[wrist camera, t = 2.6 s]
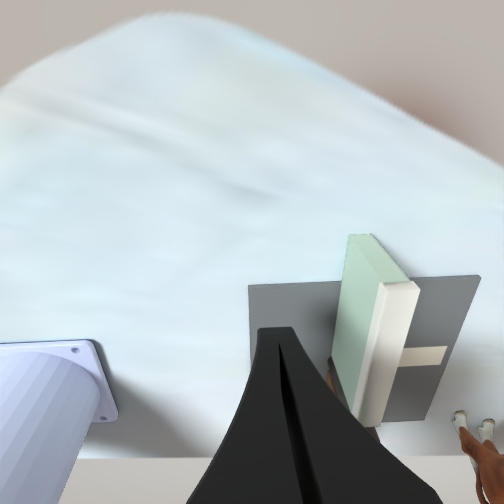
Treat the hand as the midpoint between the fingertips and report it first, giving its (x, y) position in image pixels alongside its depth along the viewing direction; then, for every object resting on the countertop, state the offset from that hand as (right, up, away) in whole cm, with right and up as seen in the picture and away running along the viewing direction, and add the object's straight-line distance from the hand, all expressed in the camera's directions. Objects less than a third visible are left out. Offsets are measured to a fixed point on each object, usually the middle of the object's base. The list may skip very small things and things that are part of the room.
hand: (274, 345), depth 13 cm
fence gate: (+5, +1, +7) cm, 8 cm away
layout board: (+6, -4, +10) cm, 12 cm away
